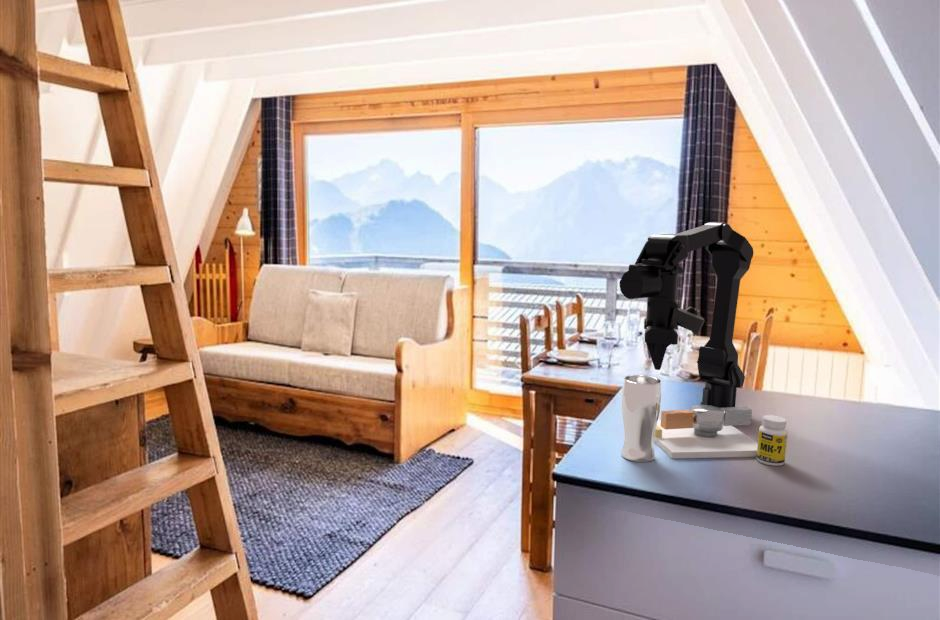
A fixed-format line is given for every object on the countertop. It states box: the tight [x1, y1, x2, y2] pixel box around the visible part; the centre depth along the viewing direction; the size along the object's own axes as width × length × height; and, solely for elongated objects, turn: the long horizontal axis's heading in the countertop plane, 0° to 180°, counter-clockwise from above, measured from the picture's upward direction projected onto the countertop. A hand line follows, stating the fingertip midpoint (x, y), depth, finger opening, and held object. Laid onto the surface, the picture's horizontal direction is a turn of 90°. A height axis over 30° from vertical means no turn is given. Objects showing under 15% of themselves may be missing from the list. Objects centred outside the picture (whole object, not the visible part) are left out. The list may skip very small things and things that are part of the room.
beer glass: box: [621, 374, 662, 463], centre depth 120 cm, size 7×7×15 cm
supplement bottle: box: [756, 414, 788, 467], centre depth 118 cm, size 5×5×8 cm
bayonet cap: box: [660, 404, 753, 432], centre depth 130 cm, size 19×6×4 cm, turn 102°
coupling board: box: [653, 418, 758, 460], centre depth 130 cm, size 19×19×3 cm
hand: (657, 369), depth 134 cm, fingers closed
